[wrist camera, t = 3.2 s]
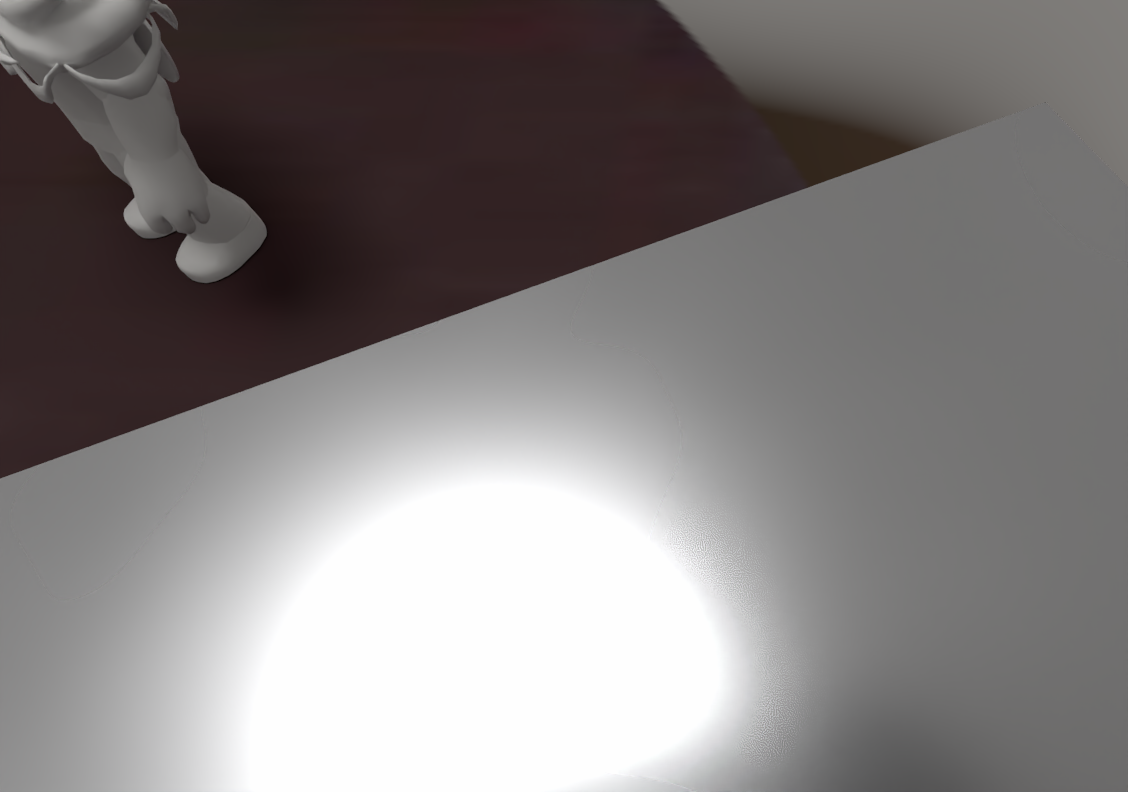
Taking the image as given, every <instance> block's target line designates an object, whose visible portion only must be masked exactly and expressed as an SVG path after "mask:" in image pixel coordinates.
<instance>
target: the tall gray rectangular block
mask: <svg viewBox="0 0 1128 792" xmlns="http://www.w3.org/2000/svg"><path fill="white" fill-rule="evenodd" d="M0 792H1128V187H1127V186H1126V185H1125V183H1123V181H1122V180H1121V179H1120V178H1119V177H1118V176H1117V175H1116V174H1115V173H1114V172H1113V171H1112V170H1111V169H1110V168H1109V167H1108V166H1107V165H1106V164H1105V163H1104V162H1103V161H1102V160H1101V159H1100V158H1099V157H1098V156H1097V155H1096V154H1095V153H1094V152H1093V150H1091V149H1090V147H1088V145H1087V144H1086V143H1085V142H1084V141H1083V140H1082V139H1080V137H1079V136H1078V135H1077V134H1076V133H1075V132H1074V131H1073V130H1072V129H1071V128H1070V127H1069V126H1068V125H1067V124H1066V123H1065V122H1064V121H1063V120H1062V119H1061V118H1060V116H1058V114H1057V113H1056V112H1055V111H1054V110H1053V109H1052V108H1051V107H1050V106H1049V105H1048V104H1047V103H1046V102H1045V103H1042V104H1040V105H1037V106H1034V107H1031V108H1028V109H1025V110H1023V111H1020V112H1017V113H1014V114H1012V115H1009V116H1006V117H1003V118H1001V119H998V120H995V121H992V122H989V123H987V124H984V125H981V126H979V127H975V128H973V129H970V130H967V131H964V132H962V133H959V134H956V135H953V136H950V137H948V138H945V139H942V140H939V141H937V142H934V143H931V144H928V145H926V146H923V147H920V148H917V149H914V150H912V151H909V152H906V153H903V154H901V155H898V156H895V157H892V158H890V159H887V160H884V161H881V162H879V163H876V164H873V165H870V166H868V167H864V168H862V169H859V170H856V171H853V172H851V173H848V174H845V175H842V176H839V177H837V178H834V179H831V180H828V181H826V182H823V183H820V184H817V185H814V186H812V187H809V188H806V189H803V190H801V191H798V192H795V193H792V194H789V195H787V196H784V197H781V198H778V199H776V200H773V201H770V202H767V203H764V204H762V205H759V206H756V207H753V208H751V209H748V210H745V211H742V212H739V213H737V214H734V215H731V216H728V217H726V218H723V219H720V220H717V221H714V222H712V223H709V224H706V225H703V226H701V227H698V228H695V229H692V230H689V231H687V232H684V233H681V234H678V235H676V236H673V237H670V238H667V239H665V240H662V241H659V242H656V243H653V244H651V245H648V246H645V247H642V248H640V249H637V250H634V251H631V252H628V253H626V254H623V255H620V256H617V257H615V258H612V259H609V260H606V261H603V262H601V263H598V264H595V265H592V266H590V267H587V268H584V269H581V270H578V271H576V272H573V273H570V274H567V275H565V276H562V277H559V278H556V279H553V280H551V281H548V282H545V283H542V284H540V285H537V286H534V287H531V288H528V289H526V290H523V291H520V292H517V293H515V294H512V295H509V296H506V297H503V298H501V299H498V300H495V301H492V302H490V303H487V304H484V305H481V306H478V307H476V308H473V309H470V310H467V311H465V312H462V313H459V314H456V315H454V316H451V317H448V318H445V319H442V320H440V321H437V322H434V323H431V324H429V325H426V326H423V327H420V328H417V329H415V330H412V331H409V332H406V333H404V334H401V335H398V336H395V337H392V338H390V339H387V340H384V341H381V342H379V343H376V344H373V345H370V346H367V347H365V348H362V349H359V350H356V351H354V352H351V353H348V354H345V355H342V356H340V357H337V358H334V359H331V360H329V361H326V362H323V363H320V364H317V365H315V366H312V367H309V368H306V369H304V370H301V371H298V372H295V373H292V374H290V375H287V376H284V377H281V378H279V379H276V380H273V381H270V382H267V383H265V384H262V385H259V386H256V387H254V388H251V389H248V390H245V391H243V392H240V393H237V394H234V395H231V396H229V397H226V398H223V399H220V400H218V401H215V402H212V403H209V404H206V405H204V406H201V407H198V408H195V409H193V410H190V411H187V412H184V413H181V414H179V415H176V416H173V417H170V418H168V419H165V420H162V421H159V422H156V423H154V424H151V425H148V426H145V427H143V428H140V429H137V430H134V431H131V432H129V433H126V434H123V435H120V436H118V437H115V438H112V439H109V440H106V441H104V442H101V443H98V444H95V445H93V446H90V447H87V448H84V449H81V450H79V451H76V452H73V453H70V454H68V455H65V456H62V457H59V458H56V459H54V460H51V461H48V462H45V463H43V464H40V465H37V466H34V467H32V468H29V469H26V470H23V471H20V472H18V473H15V474H12V475H9V476H7V477H4V478H1V479H0Z"/></svg>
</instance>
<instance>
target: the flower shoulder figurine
mask: <svg viewBox="0 0 1128 792" xmlns="http://www.w3.org/2000/svg"><path fill="white" fill-rule="evenodd" d="M154 11H156V12H157V13H158V14H159V15H160V16H161V17H163V18H164V19H165V20H166V21H167V22H168V23H169V24H170V25H172V26H173V27H174V28H175V29H177V26H178V22H177V19H176V17H175V16H174V14H173V13H172V11H171V10H170V8H169V7H168V6H167V5H166V4H161V3H160V2H159V1H158V0H0V63H1V64H2V65H3V67H4V68H5V69H6V70H7V71H8V73H9V74H10V75H15V74H18V75H19V76H20V77H21V79H22V80H23V81H24V82H25V83H26V85H27V86H28V87H29V88H30V89H31V90H32V92H33V93H34V94H35V95H36V96H37V97H38V98H39V99H40V100H42V101H44V102H48V103H52V104H53V101H54V102H55V103H56V104H57V105H58V106H59V107H60V109H61V110H62V111H63V113H64V114H65V115H66V116H67V118H68V119H69V120H70V122H71V123H72V124H73V126H74V127H75V128H76V130H77V131H78V132H79V134H80V135H81V136H82V138H83V139H84V140H86V141H87V142H89V143H90V144H92V145H93V147H94V148H95V149H96V151H97V152H98V154H99V156H100V158H101V159H102V161H103V162H104V164H105V165H106V166H107V167H108V168H109V170H110V171H111V172H112V173H113V174H115V175H116V176H118V177H119V178H120V179H122V180H123V181H124V182H126V183H127V184H128V185H129V186H131V187H132V189H133V192H134V196H135V198H134V199H133V200H132V201H131V202H130V203H129V204H128V206H127V207H126V208H125V210H124V219H125V221H126V223H127V225H128V226H129V227H130V228H131V229H133V230H134V231H135V232H136V233H137V234H138V235H139V236H141V237H143V238H158V237H163V236H166V235H168V234H170V233H172V232H174V231H176V230H177V232H179V233H186V234H187V236H186V238H185V239H184V241H183V242H182V244H181V246H180V248H179V250H178V252H177V256H176V262H177V265H178V267H179V268H180V270H181V271H182V272H184V273H185V274H186V275H187V276H188V277H189V278H190V279H191V280H194V281H197V282H202V283H209V282H215V281H218V280H220V279H222V278H225V277H227V276H229V275H230V274H232V273H233V272H234V271H236V270H237V269H239V268H240V267H241V266H242V265H243V264H244V263H245V262H246V261H247V260H248V259H249V258H250V257H251V256H252V255H253V254H254V253H255V252H256V251H257V250H258V249H259V248H260V246H261V244H262V243H263V241H264V239H265V238H266V236H267V230H266V227H265V224H264V223H263V221H262V220H261V219H260V217H259V216H258V215H257V214H256V213H255V212H254V211H253V210H252V208H251V207H250V206H249V205H248V204H247V203H246V202H245V201H244V200H243V199H241V198H239V197H238V196H236V195H234V194H233V193H231V192H229V191H227V190H225V189H223V188H221V187H219V186H217V185H215V184H213V183H211V181H210V180H209V179H208V178H207V177H206V175H205V174H204V173H203V172H202V171H201V170H200V169H199V168H198V165H197V163H196V161H195V158H194V156H193V154H192V152H191V150H190V148H189V146H188V144H187V142H186V140H185V138H184V137H183V135H182V134H181V133H180V127H179V120H178V117H177V115H176V114H175V110H174V105H173V102H172V98H171V95H170V91H169V87H168V85H167V83H166V81H165V80H164V79H163V78H162V77H164V78H165V79H167V80H169V81H171V82H177V81H178V80H179V73H178V70H177V68H176V66H175V64H174V62H173V60H172V58H171V56H170V55H169V53H168V51H167V50H166V48H165V47H164V45H163V43H162V42H161V39H160V31H159V29H158V27H157V25H156V23H155V21H154V19H153V17H152V16H151V15H150V14H149V13H151V12H154ZM146 17H147V18H148V19H149V20H150V21H151V23H152V28H151V26H150V25H149V24H148V22H147V21H146V20H145V19H146ZM19 65H20V66H21V67H22V68H23V69H24V70H25V71H26V72H27V73H28V74H29V75H30V76H31V77H32V78H33V79H34V80H35V82H36V83H37V84H38V85H39V86H38V85H35V84H34V83H32V82H31V81H30V79H29V78H28V77H27V75H26V74H25V73H24V71H23V70H22V69H21V68H20V66H19ZM159 74H160V75H161V76H162V77H161V76H160V75H159Z"/></svg>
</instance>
